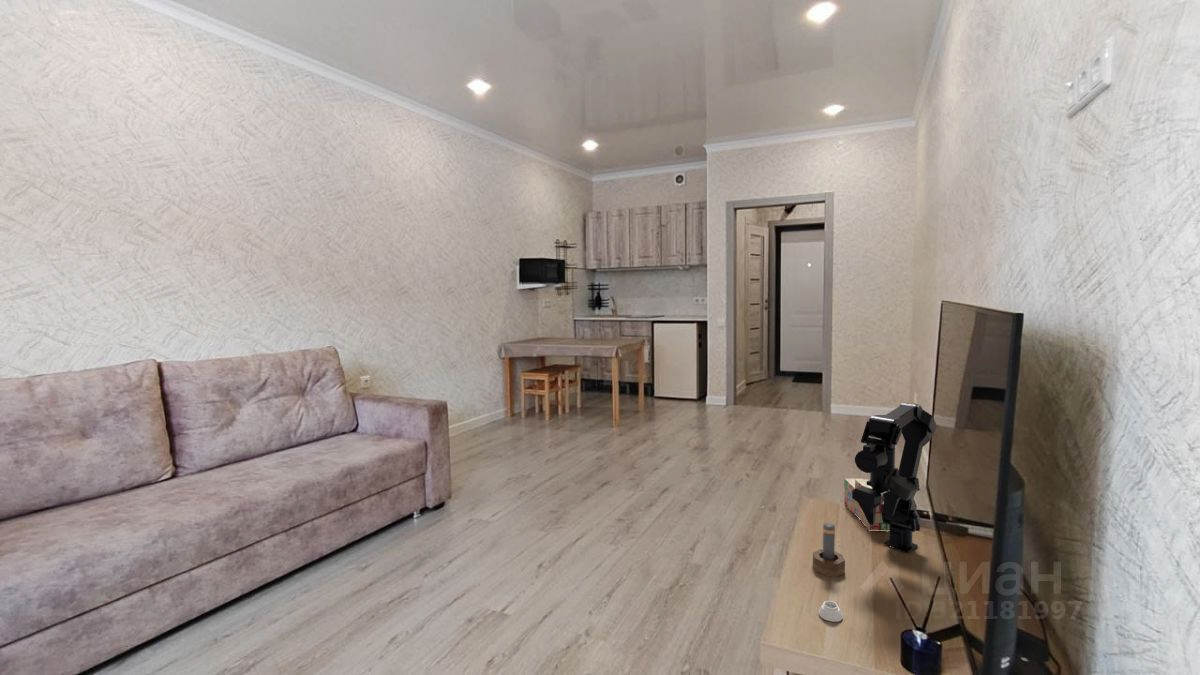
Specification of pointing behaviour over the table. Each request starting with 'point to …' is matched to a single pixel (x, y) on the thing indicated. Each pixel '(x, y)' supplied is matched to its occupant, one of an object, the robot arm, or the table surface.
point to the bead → (828, 564)
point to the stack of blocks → (856, 509)
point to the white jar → (830, 612)
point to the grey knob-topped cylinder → (828, 541)
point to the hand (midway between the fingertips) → (881, 520)
